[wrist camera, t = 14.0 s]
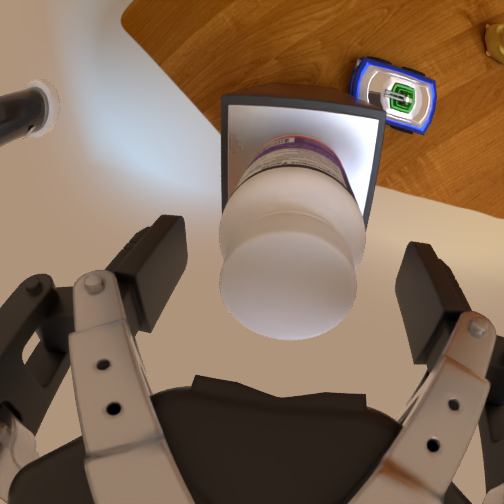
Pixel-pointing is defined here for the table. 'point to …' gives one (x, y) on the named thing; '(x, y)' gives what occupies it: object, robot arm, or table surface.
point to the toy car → (395, 93)
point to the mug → (495, 41)
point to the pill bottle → (291, 241)
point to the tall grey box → (302, 131)
